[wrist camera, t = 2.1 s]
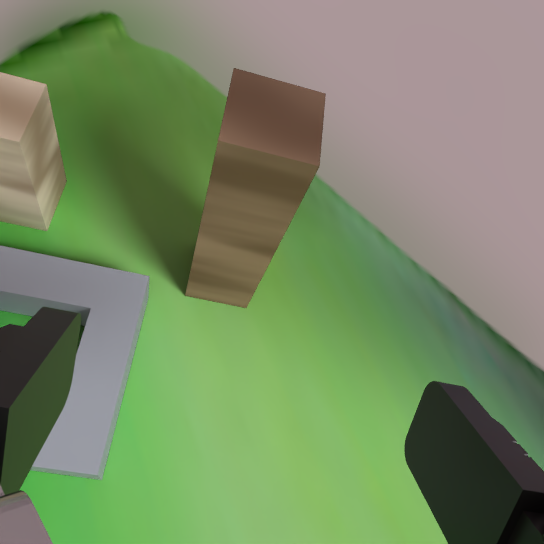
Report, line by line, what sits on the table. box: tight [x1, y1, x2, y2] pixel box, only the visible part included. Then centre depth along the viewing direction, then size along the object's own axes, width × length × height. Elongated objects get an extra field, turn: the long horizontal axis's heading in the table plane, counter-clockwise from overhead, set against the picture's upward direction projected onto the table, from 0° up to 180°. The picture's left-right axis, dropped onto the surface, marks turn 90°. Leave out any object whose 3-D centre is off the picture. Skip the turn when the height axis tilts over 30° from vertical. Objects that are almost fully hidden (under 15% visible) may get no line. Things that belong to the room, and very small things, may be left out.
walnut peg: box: [185, 68, 325, 308], centre depth 25 cm, size 4×4×14 cm
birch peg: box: [0, 72, 67, 231], centre depth 26 cm, size 4×4×8 cm
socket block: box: [0, 246, 149, 480], centre depth 25 cm, size 10×10×3 cm
